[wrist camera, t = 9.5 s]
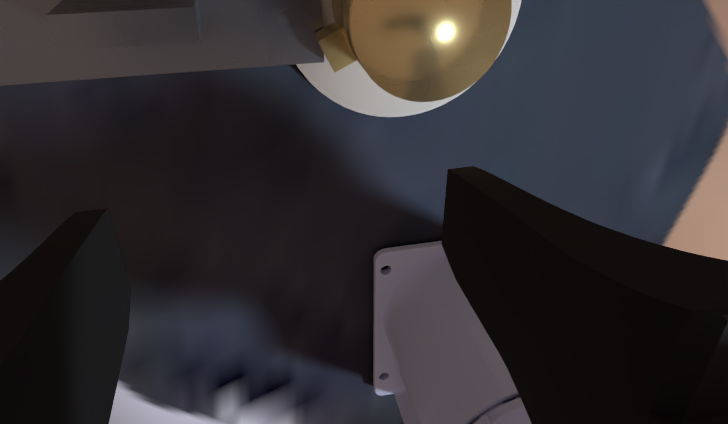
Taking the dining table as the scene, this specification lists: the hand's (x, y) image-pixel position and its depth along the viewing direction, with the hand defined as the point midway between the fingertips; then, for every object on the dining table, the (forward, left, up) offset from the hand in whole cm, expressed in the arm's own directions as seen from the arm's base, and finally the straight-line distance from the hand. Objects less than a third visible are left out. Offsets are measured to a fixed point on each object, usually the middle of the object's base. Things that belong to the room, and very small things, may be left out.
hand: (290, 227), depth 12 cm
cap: (+3, -5, -10) cm, 11 cm away
